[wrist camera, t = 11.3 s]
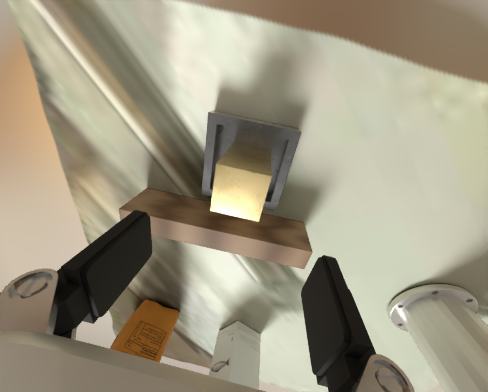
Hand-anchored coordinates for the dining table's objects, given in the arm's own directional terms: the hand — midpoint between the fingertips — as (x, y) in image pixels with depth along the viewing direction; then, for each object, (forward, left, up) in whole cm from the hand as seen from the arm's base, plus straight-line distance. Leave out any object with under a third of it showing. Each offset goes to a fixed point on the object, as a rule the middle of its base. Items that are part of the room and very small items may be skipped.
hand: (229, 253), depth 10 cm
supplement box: (-5, +41, -16) cm, 44 cm away
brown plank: (+3, +9, -16) cm, 18 cm away
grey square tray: (+1, 0, -16) cm, 16 cm away
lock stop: (0, 0, -15) cm, 15 cm away
